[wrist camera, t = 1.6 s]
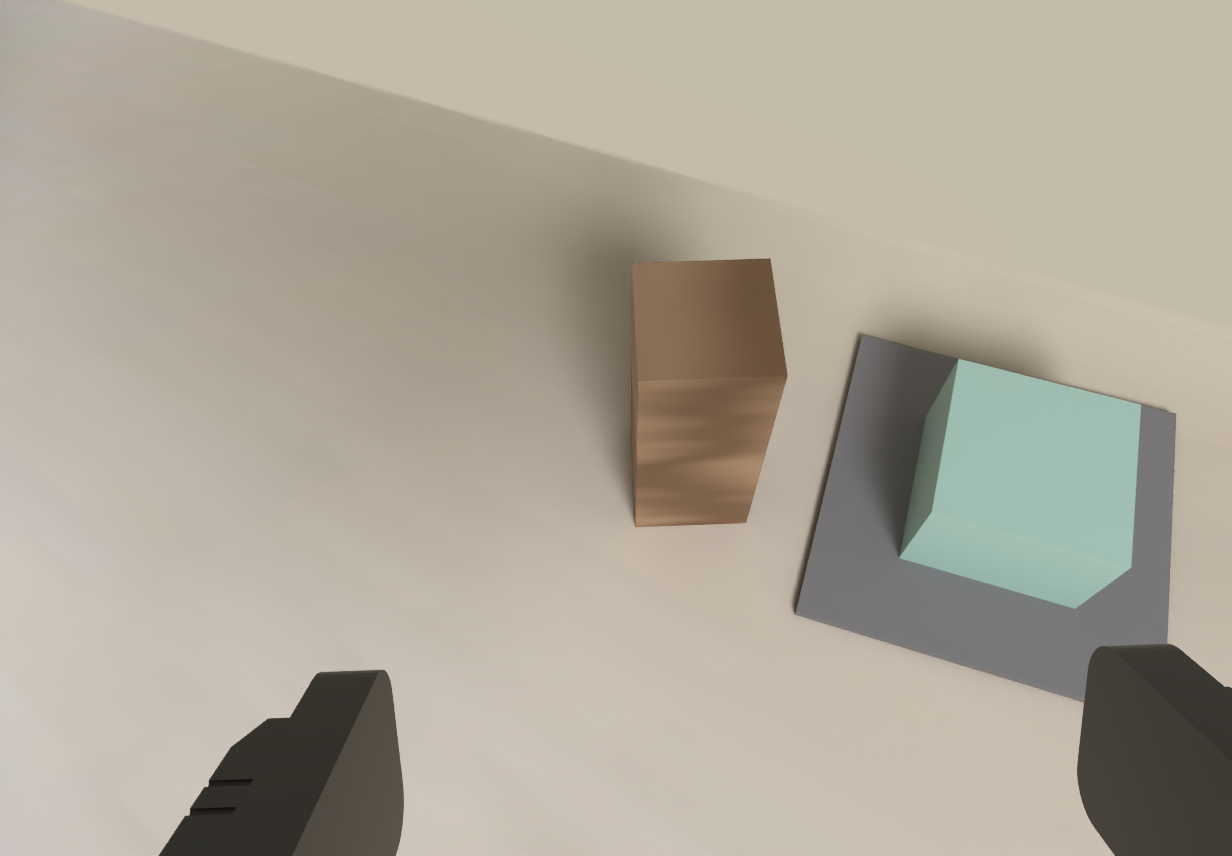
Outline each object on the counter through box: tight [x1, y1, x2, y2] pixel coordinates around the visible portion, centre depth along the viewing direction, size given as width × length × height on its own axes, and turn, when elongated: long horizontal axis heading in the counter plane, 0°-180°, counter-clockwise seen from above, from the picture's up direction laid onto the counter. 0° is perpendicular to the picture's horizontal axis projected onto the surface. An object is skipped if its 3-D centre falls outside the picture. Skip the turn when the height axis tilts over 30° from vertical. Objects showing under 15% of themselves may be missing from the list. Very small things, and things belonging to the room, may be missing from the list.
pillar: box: [631, 259, 787, 527], centre depth 30 cm, size 4×4×10 cm
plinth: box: [899, 359, 1141, 609], centre depth 31 cm, size 6×6×4 cm
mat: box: [795, 335, 1176, 702], centre depth 33 cm, size 12×12×1 cm
